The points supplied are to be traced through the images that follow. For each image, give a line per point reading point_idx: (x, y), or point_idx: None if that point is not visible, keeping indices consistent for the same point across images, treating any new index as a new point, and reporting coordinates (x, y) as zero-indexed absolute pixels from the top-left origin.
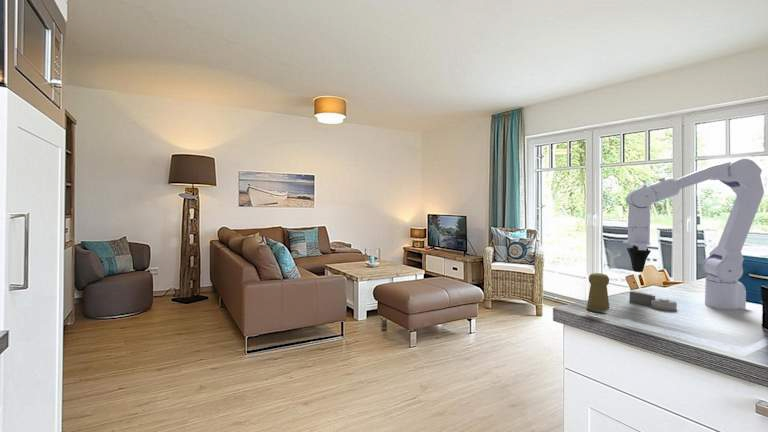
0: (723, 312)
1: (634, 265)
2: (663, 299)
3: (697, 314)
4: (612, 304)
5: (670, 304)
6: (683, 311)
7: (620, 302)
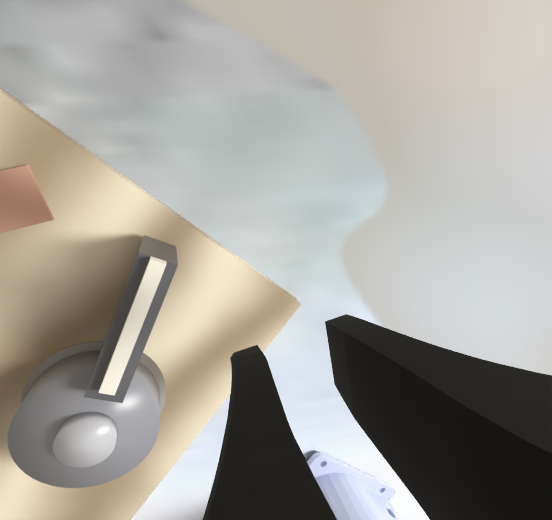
0: None
1: (229, 409)
2: (70, 446)
3: (191, 476)
4: (119, 132)
5: (28, 472)
6: (213, 432)
7: (221, 172)
